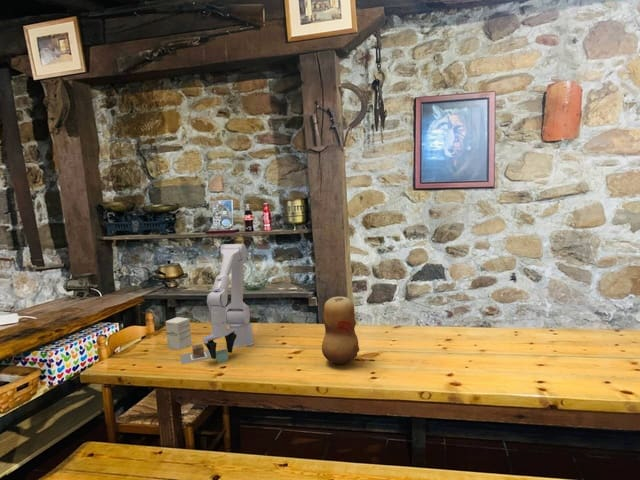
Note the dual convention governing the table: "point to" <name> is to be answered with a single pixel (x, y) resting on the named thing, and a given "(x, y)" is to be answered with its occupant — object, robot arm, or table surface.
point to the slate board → (189, 357)
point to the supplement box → (178, 333)
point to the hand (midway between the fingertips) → (221, 355)
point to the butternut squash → (339, 331)
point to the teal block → (222, 355)
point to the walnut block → (198, 351)
